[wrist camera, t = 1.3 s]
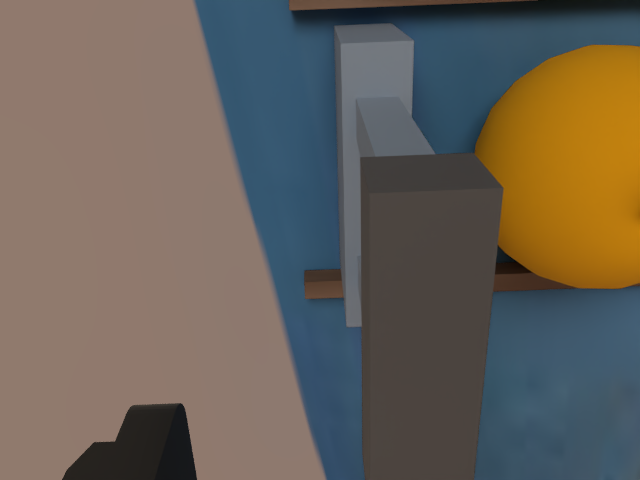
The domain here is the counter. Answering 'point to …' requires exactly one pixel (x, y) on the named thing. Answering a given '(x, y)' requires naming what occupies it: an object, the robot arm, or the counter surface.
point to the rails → (331, 280)
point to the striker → (411, 265)
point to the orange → (571, 167)
